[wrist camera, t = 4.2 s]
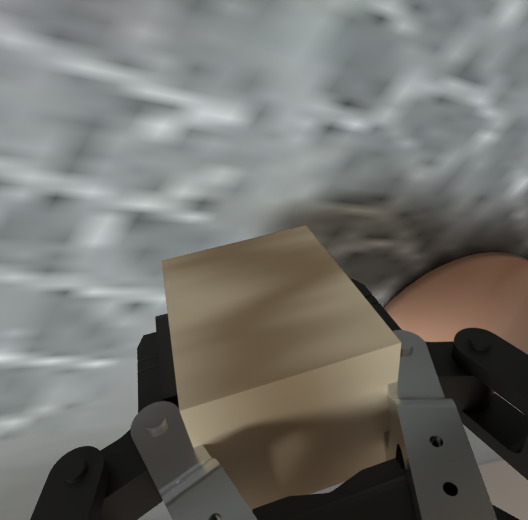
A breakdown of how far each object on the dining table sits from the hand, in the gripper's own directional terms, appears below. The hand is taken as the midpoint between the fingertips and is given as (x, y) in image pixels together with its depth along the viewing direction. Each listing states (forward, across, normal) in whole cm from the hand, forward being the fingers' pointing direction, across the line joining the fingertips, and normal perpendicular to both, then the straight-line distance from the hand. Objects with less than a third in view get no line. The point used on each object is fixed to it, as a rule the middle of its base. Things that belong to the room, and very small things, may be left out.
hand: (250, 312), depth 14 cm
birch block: (+1, 0, 0) cm, 1 cm away
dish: (+6, -13, +12) cm, 19 cm away
